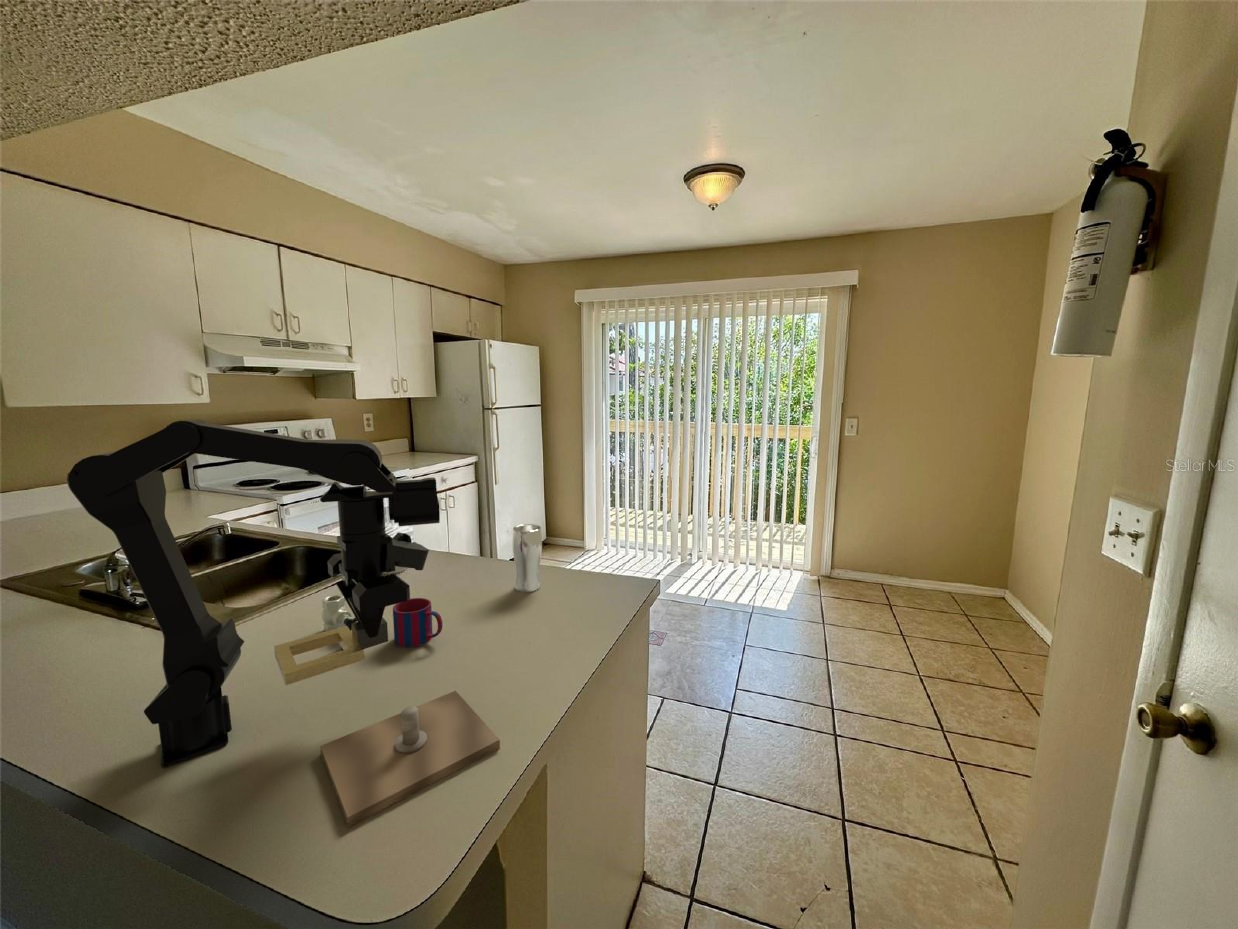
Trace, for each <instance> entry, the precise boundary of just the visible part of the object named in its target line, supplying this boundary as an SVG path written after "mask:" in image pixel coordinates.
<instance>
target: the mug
mask: <svg viewBox="0 0 1238 929" xmlns="http://www.w3.org/2000/svg"><path fill="white" fill-rule="evenodd" d="M433 616H434V618H435V619H436V622H437V631H436V633H433ZM392 620H393V621H392V622H393V640H394V645H395V646H397V647H399V648H404V647H405V648H407V649H409V648H415V647H416V648H417V647H419V646H420V647H421V646H423V645H424V644H427V643H428V642H430V641H431V640H432V639H433V638H436V637H437V636H439V634H441V633H442V630H443V619H442V616H441V615H440V614H439V613H438V612H437V611H433V610H432V601H431V600H430V599H427V598H423V597H413V598H410V599H409V600H408V601H405V602H401V603H397V604H393V607H392Z"/></svg>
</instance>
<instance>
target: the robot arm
mask: <svg viewBox="0 0 1238 929" xmlns="http://www.w3.org/2000/svg"><path fill="white" fill-rule="evenodd" d="M195 454H197V455H203V456H210V457H215V458H222V459H223V458H224V459H231V460H238V461H244V462H245V461H246V462H253V463H259V464H266V465H275V466H281V467H287V468H295V469H299V470H304V471H306V472H309V473H313V474H315V475H317V476H320V477H322V478H325V479H327V480H332V481H334V482H332V484H331V485H330V488H329V489H328V490H327V491H325V492H324V493H323V494H322V496H321V497H320V499H319V500H320V502H321V503H334V502H335V503H336V502H337V511H338V514H337V515H338V525H339V526H338V527H339V535H336V543H337V544H338V545H339V546H340V552H339V553H335V554H333V555H332V556H331V557H330V558H329V559H328V560H327V572H328V575H330V577H331V578H336V577H338V573H339V574H340V575H341V580H340V581H337V582H336V583H335V586H336V587H337V588H338V590H339V591H340V593H341V594H340V595H342V596H343V597H344V599H345V601H346V602H345V603H346V604H347V605H348V607H349V608H350V610H351V612H352V614H353V615H354V618H355V617H356V619H357V621H358V622H359V621H360V622H361V624H362V626H363V628H364V630H365V631H366V633H367V635H368V637H369V638H373V637H376V636H377V635H378V632H379V628H380V624H381V620H382V617H383V616H384V612H385V609H386V608H387V607H390V606H392V605H393V606H394V605H395V604H397V603H401V602H405V601H408V600H409V599H411V593H410V585H409V583H407V582H406V581H405V580H403V579H402V578H401V577H400V576H398V575H397V574H396V573H394V574H385V575H383V572H386V573H388V572H392V571H395V566H397V567H405V568H407V569H414V570H415V571H423V570H424V567H425V564H426V561H427V558H428V554H429V552H430V551H429V550H430V549H429V548H427V547H426V546H424V545H422V544H420V543H418V542H416V541H413V542H412V538H411V535H410V534H409V533H405V532H399V531H397V533H396V534H395V535H394V536H393V537H391V535H389V534H387V532H386V516H385V503H384V502H385V500H384V499H388V500H387V501H388V515H389V520H390V521H393V523H394V524H397V525H398V527H407V526H408V527H409V526H420V525H429V524H431V525H432V524H440V516H441V514H440V512H441V511H440V501H439V497H438V488H437V479H436V477H425V478H421V479H420V478H419V479H403V480H398V477H396V475H395V474H394V473H393V472H392V471H391V470H390V469H389V468H388V467H387V466H386V465H385V464H384V463H383V456H382V453H381V450H380V449H379V448H378V447H377V446H376V444H375V443H372V442H371V441H369V440H366V439H344V438H343V439H342V438H339V439H337V438H336V439H334V438H333V439H306V438H303V437H302V438H300V437H293V436H290V435H282V434H276V433H270V432H265V431H259V430H252V429H248V428H247V429H246V428H240V427H234V426H229V425H224V424H223V425H222V424H217V423H210V422H207V421H205V420H203V419H197V418H196V419H194V418H192V419H184V420H183V419H182V420H177V421H174V422H171V423H170V424H168V425H166V426H165V428H162V429H160V430H159V431H157V432H155V433H153V434H151V435H149V436H146V437H144V438H142V439H140V440H138V441H136V442H135V441H134V442H133V443H131V444H129V445H127V446H124V447H122V448H120V449H118V450H115V451H109V452H105V453H99V454H95V455H90V456H88V457H84V458H81V460H79V461H78V462H76V463H75V464H73V466H72V468H71V470H70V471H69V472H68V473H67V475H66V483H67V486H68V489H69V490H70V492H71V493H72V494H73V496H74V497H75V498H76V499H77V501H78V502H79V503H80V505H81V506H82V508H83V509H84V510H85V511H86V513H88V514H89V516H91V517H92V518H94V519H95V520H97V521H98V522H99V523H101V524H102V525H103V526H105V527H106V528H107V529H109V530H110V531H112V533H113V534H114V536H115V537H116V539H117V541H118V545H119V546H120V548H121V550H122V552H123V554H124V557H125V559H126V560H127V562H128V565H129V567H130V569H131V571H132V573H133V575H134V577H135V579H136V581H137V583H138V585H139V588H140V590H141V591H142V593H143V596H144V597H145V598H144V599H145V600H146V601H147V604H148V607H149V608H150V610H151V612H152V615H153V617H154V618H155V621H156V623H157V625H158V627H159V629H160V631H161V634H162V638H163V649H162V650H163V651H162V669H163V673H164V674H163V675H164V679H165V683H166V684H165V685H164V686H163V687H162V689H161V690H160V691H159V692H158V693H157V694H156V695H155V697H154V698H153V699H152V701H150V703H149V704H148V705H147V706H146V708H145V709H144V711H143V713H144V715H145V717H146V718H147V719H148V721H149V722H150V724H152V725H156V724H157V725H158V732H159V733H158V734H159V741H160V746H161V748H160V749H161V754H160V756H161V757H160V766H161V768H166V767H169V766H172V765H174V764H177V763H180V762H184V761H185V760H189V759H191V758H194V757H197V756H199V755H201V754H205V753H207V752H210V751H213V750H215V749H219V748H221V747H223V746H226V745H227V744H229V735H228V733H230V732H231V731H232V729H233V728H232V720H231V712H230V711H231V709H230V702H229V696H228V695H226V694H225V695H223V691H222V686H223V684H224V683H225V682H226V681H227V678H228V677H229V675H230V673H231V672H232V671H233V669H234V668H235V666H236V665H237V663H238V661H239V660H240V657H241V654H242V646H243V645H244V643H245V640H244V639H242V638H241V636H240V635H239V634H238V631H237V629H236V628H237V627H236V624H235V622H236V621H235V620H234V619H233V618H229V619H227V620H225V621H223V622H220V621H219V620H217V619H216V618H214V617H213V616H212V615H211V614H210V613H209V611H208V609H207V607H206V605H205V603H204V600H203V598H202V595H201V594H200V591H199V589H198V587H197V585H196V583H195V580H194V579H193V576H192V573H191V571H190V569H189V568H188V565H187V563H186V560H185V558H184V556H183V554H182V552H181V550H180V549H181V548H180V547H179V545H178V543H177V541H176V539H175V536H174V533H173V532H172V530H171V527H170V524H169V523H168V520H167V518H166V513H165V512H166V499H167V489H166V484H165V479H164V474H163V473H166V472H167V471H169V470H171V469H172V468H175V467H176V466H178V465H180V464H181V463H182V462H184V461H186V460H188V459H189V458H190V457H192V456H193V455H195ZM340 483H342V484H345V485H348V486H343V485H341V484H340ZM367 488H369V489H370V490H367Z"/></svg>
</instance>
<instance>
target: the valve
mask: <svg viewBox="0 0 1238 929" xmlns="http://www.w3.org/2000/svg"><path fill="white" fill-rule="evenodd" d="M345 601H346V600H345V599H344V597H343V595H342V594H331V595H328V596H326V597H324V598H323V599H322V600H321V605H322V609H323V610H322V613H321V619H322V621H323V632H326V631H330V630H333V629H337V628H341V627H344V626H347V627H348V628H349V629H350V631H351V632H352V624H351V623H355V622H358V621H357V619H356V617H355V616H354V617H353V616H352V614H351V612H350V611H347V607H346V606H345V605H346V602H345Z"/></svg>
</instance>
